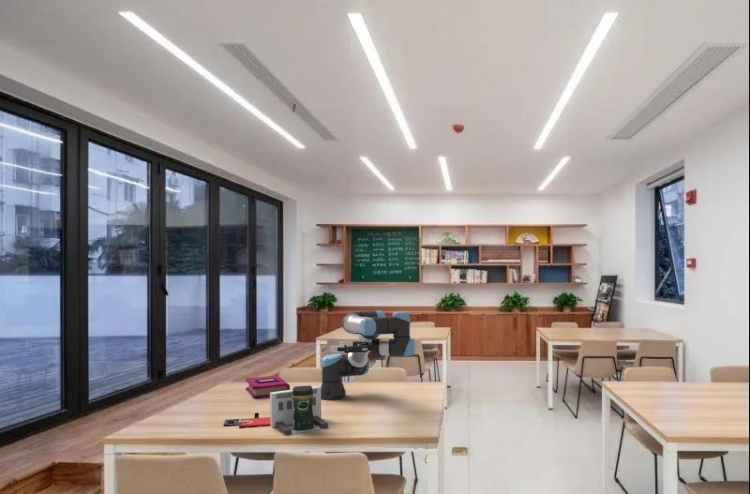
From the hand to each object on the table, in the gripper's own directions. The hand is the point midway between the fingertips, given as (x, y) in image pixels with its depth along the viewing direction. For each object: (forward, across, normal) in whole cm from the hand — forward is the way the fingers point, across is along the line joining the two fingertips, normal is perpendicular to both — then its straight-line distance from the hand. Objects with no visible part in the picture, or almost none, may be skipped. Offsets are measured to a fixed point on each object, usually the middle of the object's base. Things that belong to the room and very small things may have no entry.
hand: (335, 346), depth 226 cm
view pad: (+14, -4, -36) cm, 39 cm away
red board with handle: (+40, +2, -37) cm, 54 cm away
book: (+61, +61, -37) cm, 94 cm away
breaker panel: (+21, +4, -36) cm, 42 cm away
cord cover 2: (+9, +2, -36) cm, 37 cm away
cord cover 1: (+22, -8, -36) cm, 43 cm away
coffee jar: (+14, -4, -36) cm, 39 cm away
